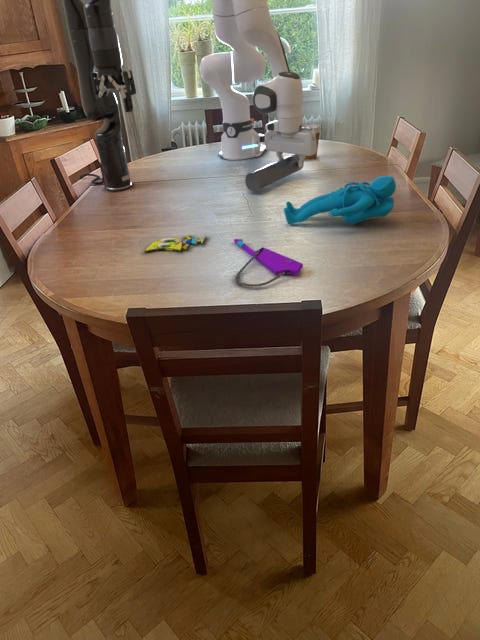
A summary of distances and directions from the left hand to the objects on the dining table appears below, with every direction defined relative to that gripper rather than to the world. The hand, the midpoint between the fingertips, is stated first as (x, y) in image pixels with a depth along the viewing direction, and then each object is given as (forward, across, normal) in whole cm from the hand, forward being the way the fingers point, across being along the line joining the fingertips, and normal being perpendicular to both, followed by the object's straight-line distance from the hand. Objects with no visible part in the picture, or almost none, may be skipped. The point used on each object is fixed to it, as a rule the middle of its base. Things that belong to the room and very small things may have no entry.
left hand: (118, 111), depth 137 cm
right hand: (+27, -30, -50) cm, 64 cm away
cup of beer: (+30, -26, -74) cm, 84 cm away
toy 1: (+30, -27, +15) cm, 44 cm away
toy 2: (+30, -62, -15) cm, 70 cm away
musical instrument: (+30, -54, +18) cm, 64 cm away
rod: (+29, -28, -41) cm, 58 cm away
